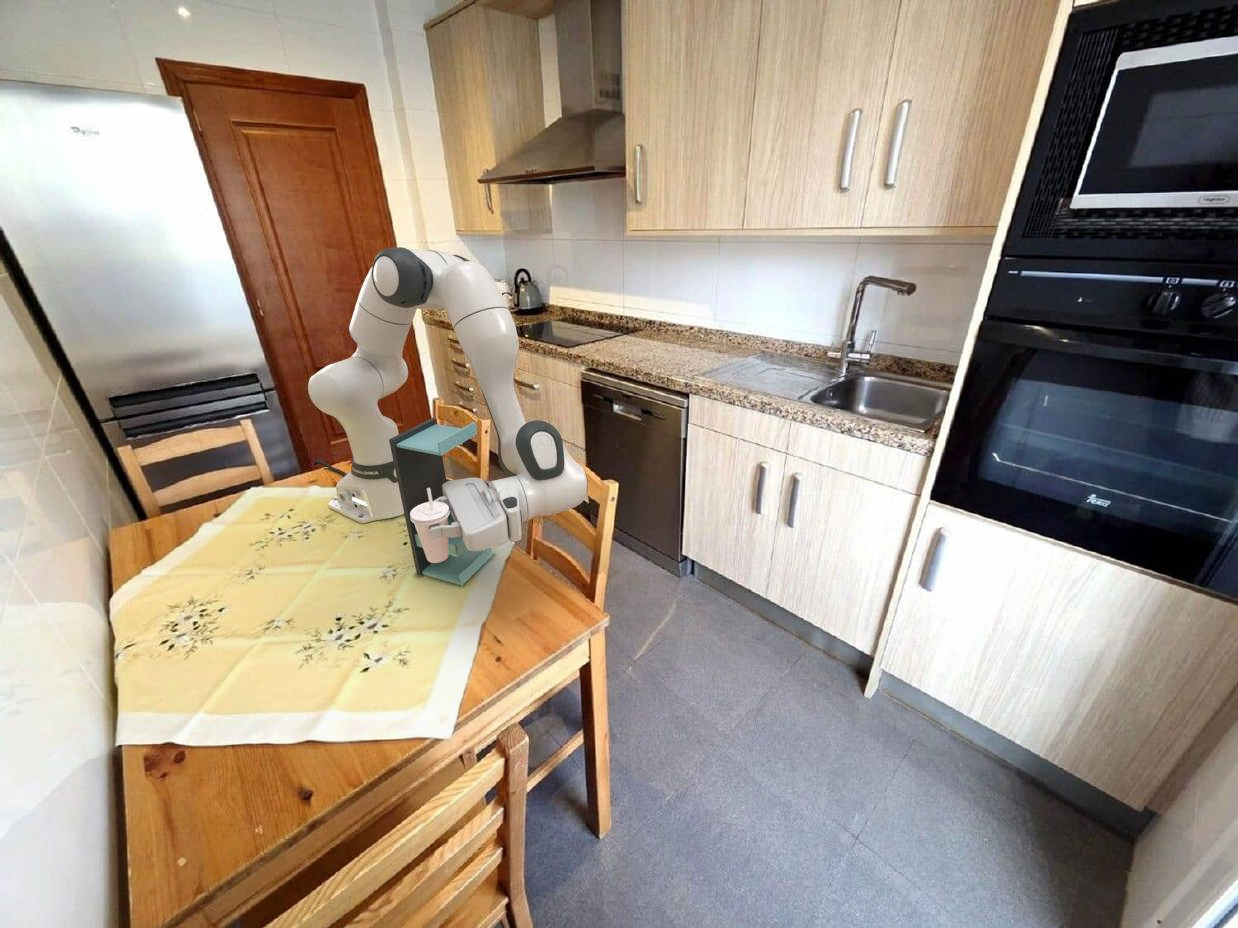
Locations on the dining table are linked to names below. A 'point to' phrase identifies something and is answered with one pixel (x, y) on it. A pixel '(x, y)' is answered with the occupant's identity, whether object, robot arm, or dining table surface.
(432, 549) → the smoothie
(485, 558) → the rack
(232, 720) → the dining table surface
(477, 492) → the robot arm
